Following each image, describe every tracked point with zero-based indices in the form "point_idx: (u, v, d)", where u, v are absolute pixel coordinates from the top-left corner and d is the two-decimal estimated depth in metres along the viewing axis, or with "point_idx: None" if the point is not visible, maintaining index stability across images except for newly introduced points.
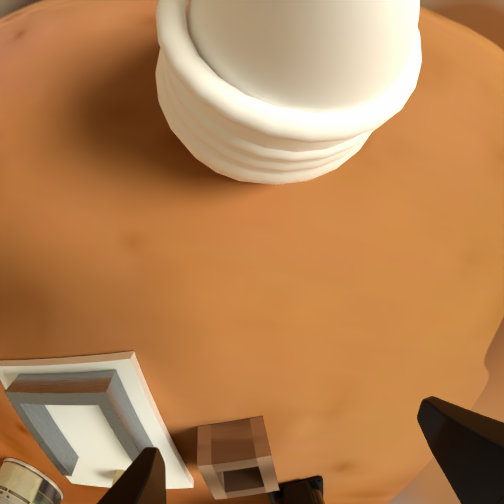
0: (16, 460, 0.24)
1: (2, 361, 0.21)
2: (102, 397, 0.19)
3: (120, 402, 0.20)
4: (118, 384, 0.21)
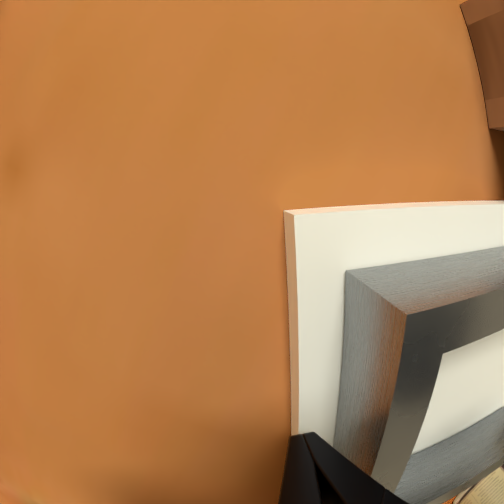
0: (461, 494, 0.16)
1: None
2: (422, 333, 0.05)
3: (443, 276, 0.07)
4: (390, 272, 0.07)
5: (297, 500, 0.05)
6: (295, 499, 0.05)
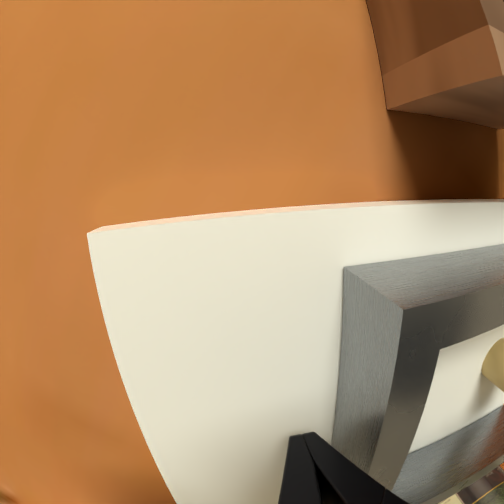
0: None
1: None
2: (419, 328, 0.05)
3: (440, 273, 0.07)
4: (387, 269, 0.08)
5: (297, 500, 0.05)
6: (295, 499, 0.05)
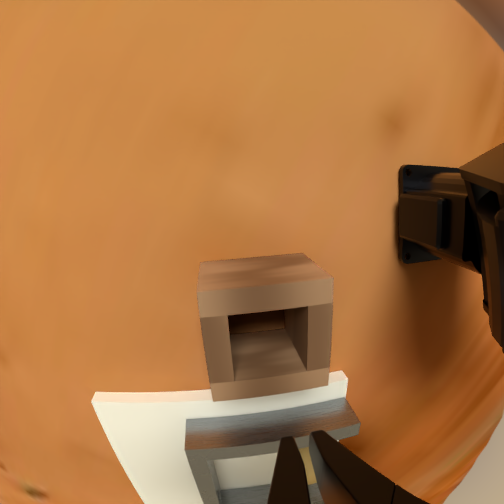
0: None
1: None
2: (193, 454, 0.16)
3: (217, 432, 0.17)
4: (200, 424, 0.18)
5: (285, 502, 0.05)
6: (284, 501, 0.05)
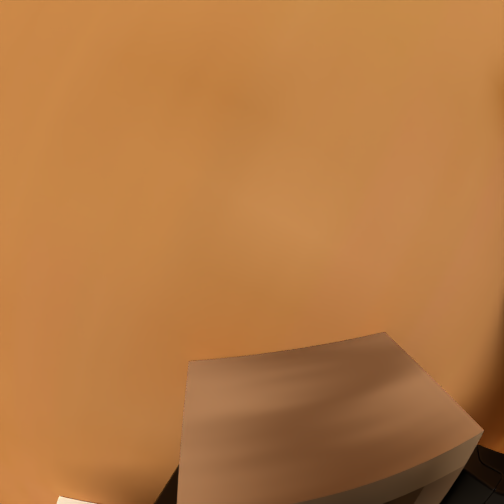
0: None
1: None
2: None
3: None
4: None
5: None
6: None
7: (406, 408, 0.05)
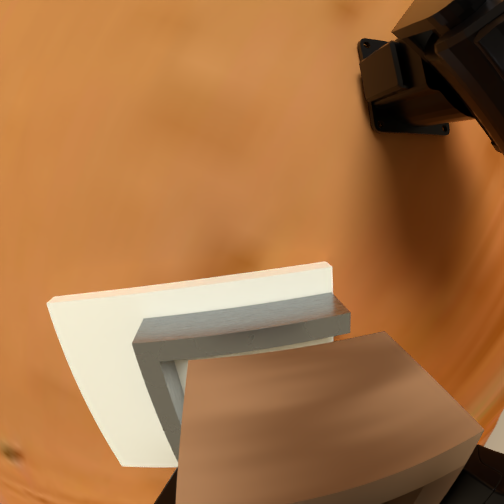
0: None
1: None
2: (143, 351, 0.15)
3: (174, 327, 0.16)
4: (157, 321, 0.17)
5: None
6: None
7: (406, 407, 0.05)
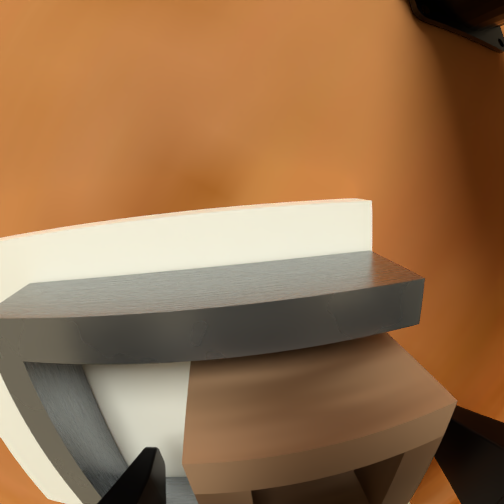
0: None
1: None
2: None
3: (58, 297, 0.07)
4: (43, 288, 0.08)
5: None
6: None
7: (385, 379, 0.07)
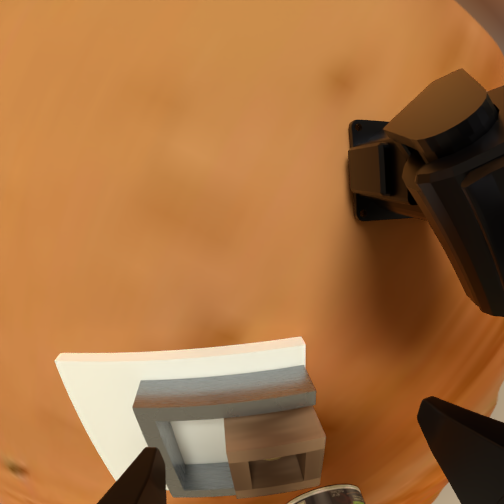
0: None
1: None
2: (141, 413, 0.16)
3: (167, 393, 0.18)
4: (153, 385, 0.18)
5: None
6: None
7: (300, 424, 0.17)
